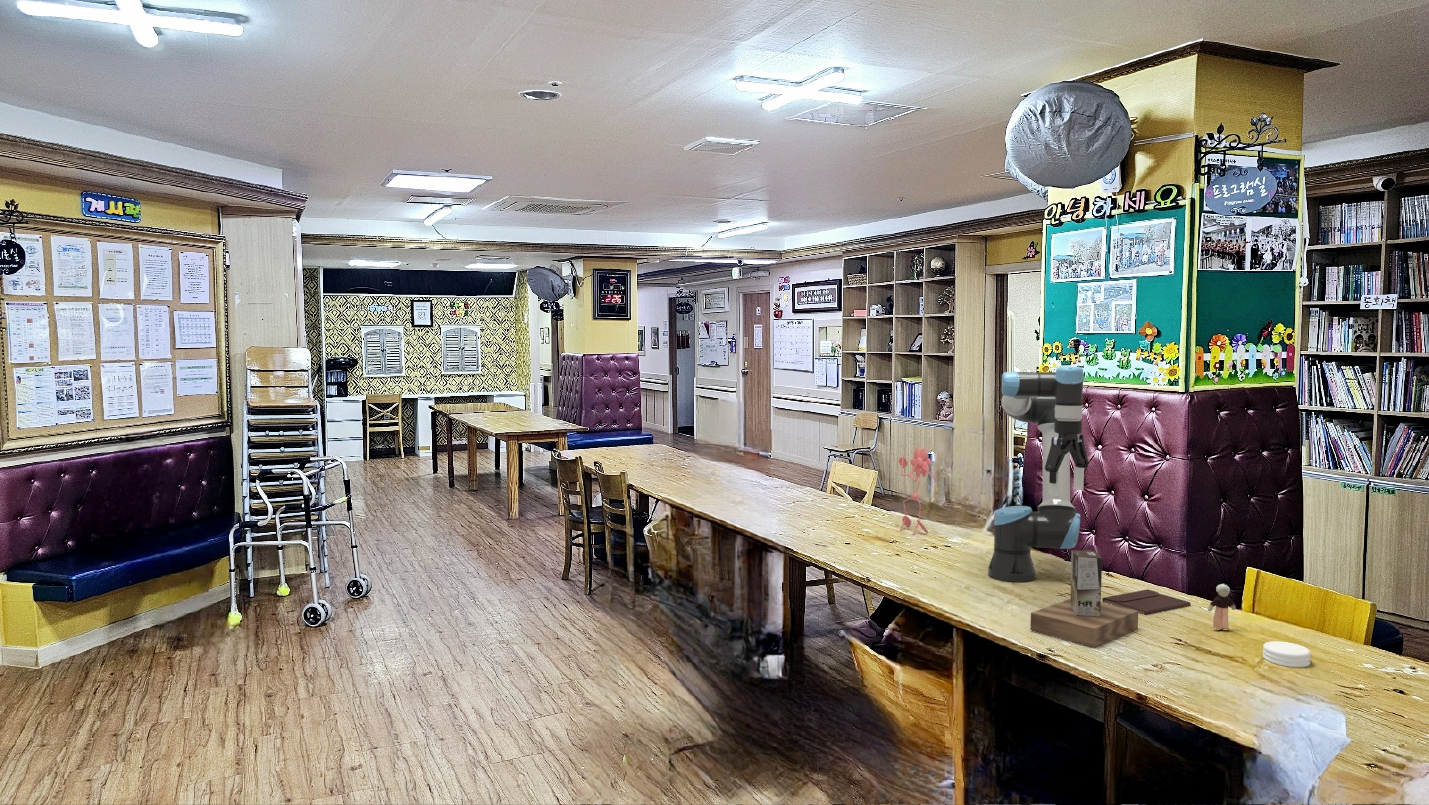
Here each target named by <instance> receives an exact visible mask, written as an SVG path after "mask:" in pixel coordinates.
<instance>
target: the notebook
mask: <svg viewBox="0 0 1429 805" xmlns="http://www.w3.org/2000/svg"><path fill="white" fill-rule="evenodd" d="M1105 602H1106V604H1108V603H1109V604H1112V605H1115V606H1119V607H1124V608H1128V609H1132V610H1137V611H1138V614H1140V615H1141V614H1142V615H1143V614H1144V616H1149V615H1154V614H1159V613H1163V612H1162V611H1164V612H1167V611H1173V610H1178V608H1179V609H1183V608H1187V607H1191V606H1192V605H1191V602H1189V601H1187V600H1184V599H1180V598H1177V597H1173V596H1169V595H1166V594H1163V593H1160V592H1158V591H1155V590H1151V589H1142V590H1138V591H1137V590H1136V591H1132V592H1127V593H1121V594H1117V595H1111V596H1105V597H1103V598H1102V603H1105ZM1158 612H1159V613H1158Z"/></svg>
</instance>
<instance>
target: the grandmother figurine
mask: <svg viewBox="0 0 1429 805" xmlns="http://www.w3.org/2000/svg"><path fill="white" fill-rule="evenodd" d="M1215 589H1216V592H1217V595H1218V596H1217V595H1216V596H1215V598H1213V599H1212V600H1211V602H1210V604H1209V606H1208V608H1207V611H1208V612H1211V611H1212V610H1213V609H1214V607H1215V611H1214V613H1213V614H1214V615H1213V620H1212V621H1213V622H1212V627H1211V629H1212V628H1213V629H1214V630H1221V629H1220V628H1222V629H1229V630H1230V628H1229V626H1230V625H1229V624H1230V623H1229V606H1230V608H1231V610H1232V611H1235V610H1236V609H1237V607H1236V605H1235V602H1234V601H1233V599H1231V598H1230V597H1228V596H1229V594H1230V591H1231V589H1230V587H1229V586H1228V585H1227V584H1225V583H1221V584H1218V585H1217V586H1216V588H1215ZM1214 630H1213V631H1214ZM1221 631H1222V630H1221Z"/></svg>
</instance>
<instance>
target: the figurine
mask: <svg viewBox="0 0 1429 805" xmlns="http://www.w3.org/2000/svg"><path fill="white" fill-rule="evenodd" d="M928 456H929V451H926V448H925V447H923V448H921V449H920V447H918V446H917V447H915V450H914V451H913V458H912V459H910V460H909V461H910V465H911V466H912V470H911V472H910V473H909V474H906V473H903V472H904V471H903V469H905V468H906V467H907V466H908V464H909V463H908V460H907V458H905V456H900V457H899V459H898V462H899V465H900V466H901V473H900V475H901V476H904V477H906V476H908V477H910V478H911V479H912V480H914V481H915V482H916V483H917V485H916V486H917V487H916V490H915V493H912V494H911V497H909V498H908V499H905V500H903V502H902V504H903V509H904V516H903V517H902V519H901V520H902V524H901V526H900V529H899V531H902V530H903V527H904V526H905V527H906V528H907V529H909V528H911V526H912V521H911V519H910V517H909V516H907V512H906V506H905V502H906V501H909V500H911V499H912V500H914V501H915V500H917V502H918V504H919V512H918V513H919V515H918V519H916V522H917V523H916V525H915V528H914V531H913V533H912V535H913V536H914V535H915V534H916V531H917V528H921V529H922V531H923V532H925V533H926V534H927V535H928V534H929V532H928V530H927V527H926V526H925V525H924V524H923V523H922V522H921V506H922V505H921V501H920V499H919V494H918V489H919V485H920V481H919V480H918V479H919V477H920V476H922V477H923V478H926V476H927V473H928V474H929V476H931V477H932V478H933V480H935V482H936V481H938V480H937V479H936V478H935V477H934V475H932V474H931V472H930V468H929V466H930V465H931V464H932V461H931V459H930V458H929V457H928ZM913 472H915V477H916V478H915V477H914V476H912V475H913ZM925 527H926V528H925Z"/></svg>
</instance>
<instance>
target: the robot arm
mask: <svg viewBox="0 0 1429 805" xmlns="http://www.w3.org/2000/svg"><path fill="white" fill-rule="evenodd" d="M1084 379H1085V377H1084V369H1083V368H1082V367H1081V366H1058V367H1057V368H1056V369H1055V371H1053V372H1050V371H1049V372H1048V371H1047V372H1045V371H1044V372H1042V371H1036V372H1035V371H1034V372H1033V371H1004V372H1003V373H1002V374H1001V395H1002V396H1001V400H1000V401H1001V403H1000V404H1001V408H1002V410H1003V411H1004V414H1006V415H1007V416H1009V417H1010V418H1011V419H1014V420H1017V421H1019V422H1023V423H1026V424H1027V423H1030V424H1031V423H1032V424H1037V429H1038V430H1039V431H1040V432H1041V435H1042V436H1041V437H1042V502H1041V503H1040V504H1039V505H1038V506H1037V511H1033V509H1032V507H1030V506H1027V505H1014V506H1013V505H1011V506H1006V507H1005V506H1004V507H1001V508H999V509H997V510H996V512H995V513H994V522H993V525H994V536H993V537H994V538H993V540H994V541H993V554H992V557H991V559H990V561H989V562H990V563H989V565H988V570H987V576H988V577H991V578H992V579H995V580H998V581H1005V582H1013V583H1014V582H1015V583H1023V582H1029V581H1030V582H1031V581H1034V580H1036V569H1035V565H1034V562H1033V559H1032V556H1031V547H1033V548H1047V549H1048V548H1049V549H1051V548H1052V549H1059V550H1062V549H1069V550H1070V549H1074V548H1075V547H1076V545H1077V542H1078V540H1079V533H1080V527H1081V514H1080V513H1078V512H1076V507H1075V506H1074V505H1073V504H1072V502H1071V475H1070V474H1071V470H1070V468H1071V466H1070V465H1071V464H1070V462H1071V461H1070V460H1071V458H1072V461H1073V462H1074V464H1075V465H1074V467H1073V490H1077V491H1083V490H1084V486H1085V485H1084V479H1085V476H1084V475H1085V468H1086V469H1087V468H1088V467H1089V458H1088V454H1087V449H1086V444H1085V439H1084V438H1085V437H1084V434H1082V432H1083V422H1082V419H1083V397H1084V396H1083V394H1084ZM1070 456H1071V457H1070Z"/></svg>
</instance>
